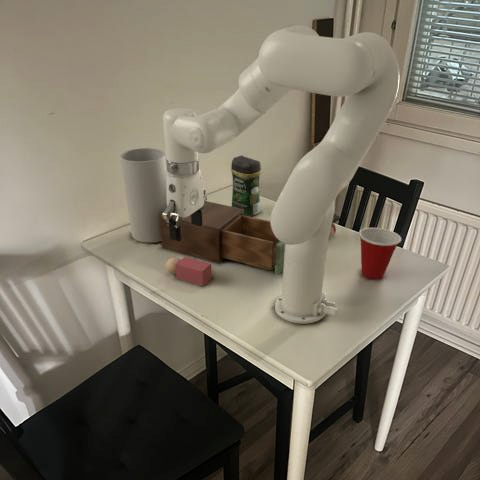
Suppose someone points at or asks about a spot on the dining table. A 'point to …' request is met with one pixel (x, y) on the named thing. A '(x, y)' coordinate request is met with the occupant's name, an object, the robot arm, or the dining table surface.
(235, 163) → the coffee jar
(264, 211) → the dining table surface
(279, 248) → the drawer
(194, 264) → the pink block on ball
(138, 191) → the cylinder vase
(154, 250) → the dining table surface
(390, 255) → the plastic cup
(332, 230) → the figurine character
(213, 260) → the cabinet
